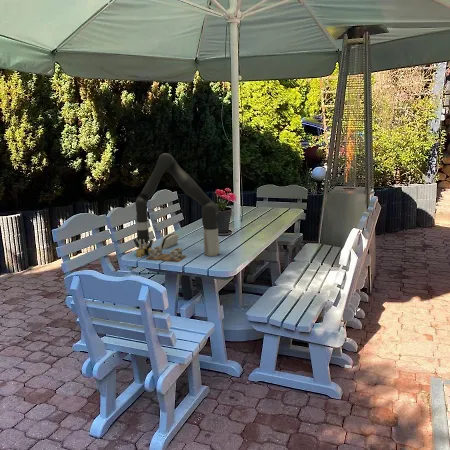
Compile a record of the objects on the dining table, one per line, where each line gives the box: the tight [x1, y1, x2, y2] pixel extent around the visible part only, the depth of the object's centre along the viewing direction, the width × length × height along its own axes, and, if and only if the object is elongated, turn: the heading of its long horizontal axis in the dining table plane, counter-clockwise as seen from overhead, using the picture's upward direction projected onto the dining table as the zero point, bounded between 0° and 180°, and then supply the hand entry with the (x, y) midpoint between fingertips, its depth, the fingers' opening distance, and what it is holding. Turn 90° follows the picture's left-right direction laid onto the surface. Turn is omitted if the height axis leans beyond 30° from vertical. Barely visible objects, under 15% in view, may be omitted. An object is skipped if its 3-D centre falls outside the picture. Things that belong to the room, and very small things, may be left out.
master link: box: [135, 243, 152, 258], centre depth 298 cm, size 15×3×5 cm, turn 163°
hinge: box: [158, 232, 180, 250], centre depth 318 cm, size 17×5×10 cm, turn 152°
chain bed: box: [145, 246, 187, 263], centre depth 288 cm, size 22×12×6 cm, turn 72°
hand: (144, 254), depth 298 cm, fingers closed on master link, 3 cm apart
